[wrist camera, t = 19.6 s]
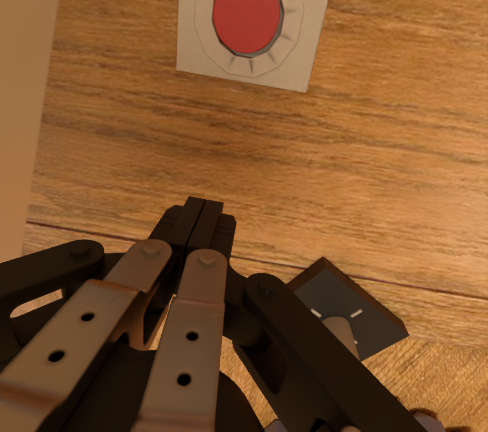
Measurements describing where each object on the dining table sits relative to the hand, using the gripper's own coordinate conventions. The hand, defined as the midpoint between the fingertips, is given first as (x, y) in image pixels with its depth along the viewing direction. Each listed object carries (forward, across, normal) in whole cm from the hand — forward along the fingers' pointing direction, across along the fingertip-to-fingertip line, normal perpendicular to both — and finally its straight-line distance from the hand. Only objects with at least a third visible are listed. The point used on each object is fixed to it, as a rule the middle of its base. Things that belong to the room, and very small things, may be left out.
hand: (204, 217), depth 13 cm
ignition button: (+12, 0, -8) cm, 15 cm away
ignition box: (+16, 0, -8) cm, 18 cm away
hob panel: (+16, -14, +19) cm, 29 cm away
